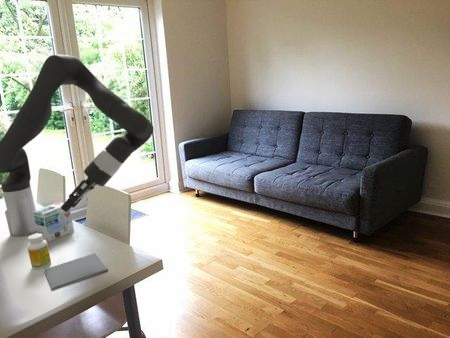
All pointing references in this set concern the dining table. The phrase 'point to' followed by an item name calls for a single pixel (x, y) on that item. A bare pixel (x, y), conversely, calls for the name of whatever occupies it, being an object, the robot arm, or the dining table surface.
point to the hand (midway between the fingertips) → (67, 207)
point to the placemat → (74, 271)
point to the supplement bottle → (38, 251)
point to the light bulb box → (53, 221)
